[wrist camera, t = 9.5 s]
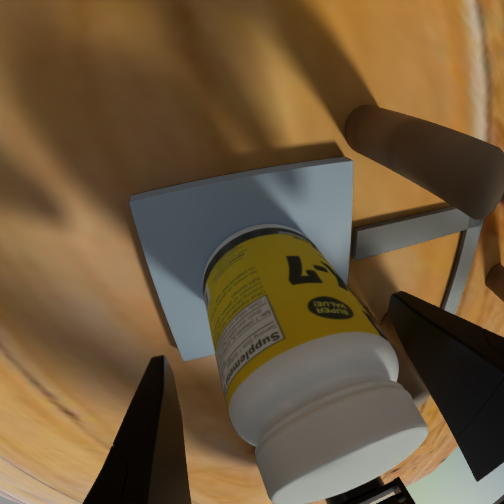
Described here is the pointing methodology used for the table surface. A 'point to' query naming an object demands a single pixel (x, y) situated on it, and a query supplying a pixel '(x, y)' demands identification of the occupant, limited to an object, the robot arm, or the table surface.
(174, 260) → the pad
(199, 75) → the table surface
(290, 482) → the supplement bottle
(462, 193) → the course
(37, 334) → the table surface
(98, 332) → the table surface
